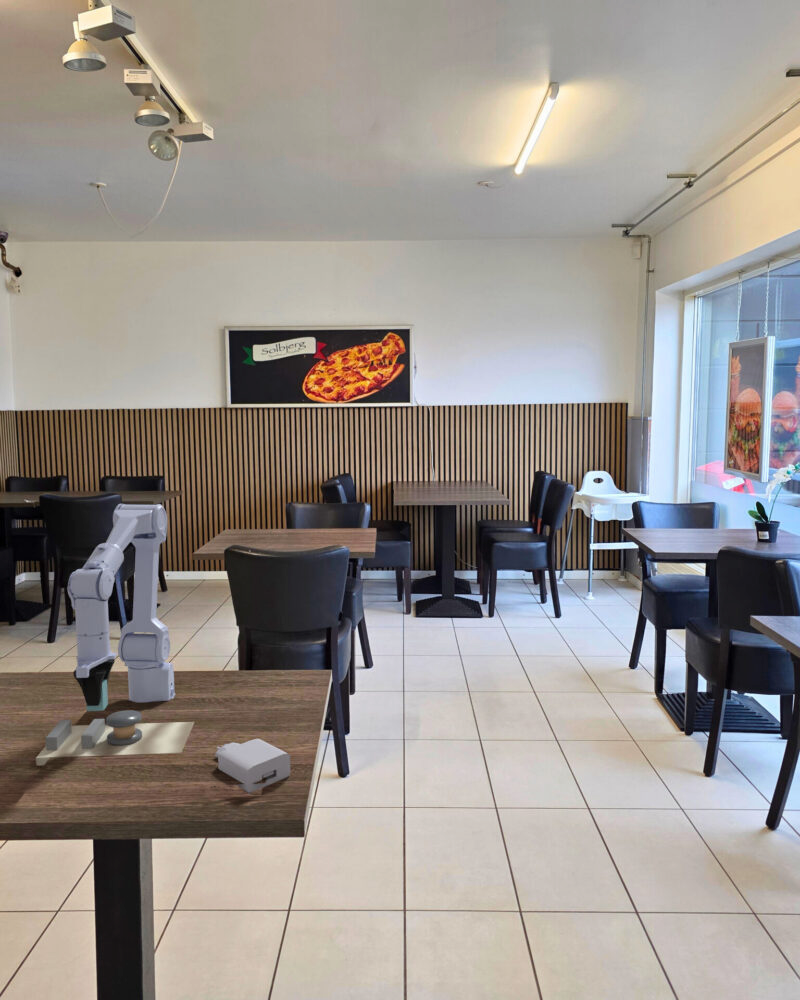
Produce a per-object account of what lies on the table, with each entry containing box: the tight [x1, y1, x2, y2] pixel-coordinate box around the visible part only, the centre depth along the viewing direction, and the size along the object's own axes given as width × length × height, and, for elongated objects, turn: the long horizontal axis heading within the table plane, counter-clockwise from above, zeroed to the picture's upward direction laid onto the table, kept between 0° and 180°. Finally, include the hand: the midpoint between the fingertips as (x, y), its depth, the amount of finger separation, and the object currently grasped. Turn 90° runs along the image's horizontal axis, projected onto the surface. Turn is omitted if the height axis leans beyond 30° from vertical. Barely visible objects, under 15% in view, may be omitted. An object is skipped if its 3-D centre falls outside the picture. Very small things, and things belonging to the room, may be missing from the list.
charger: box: [213, 738, 291, 794], centre depth 141 cm, size 5×9×15 cm
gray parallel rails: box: [45, 718, 106, 750], centre depth 150 cm, size 8×8×2 cm
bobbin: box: [105, 709, 142, 746], centre depth 150 cm, size 6×6×4 cm
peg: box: [86, 680, 109, 712], centre depth 148 cm, size 3×3×5 cm
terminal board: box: [35, 721, 195, 766], centre depth 150 cm, size 26×14×2 cm, turn 95°
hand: (96, 701), depth 148 cm, fingers closed on peg, 3 cm apart
